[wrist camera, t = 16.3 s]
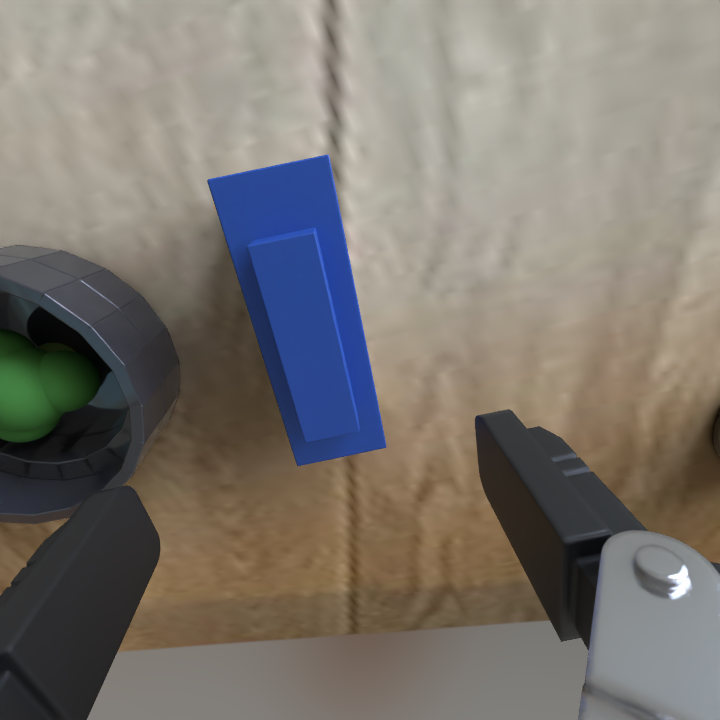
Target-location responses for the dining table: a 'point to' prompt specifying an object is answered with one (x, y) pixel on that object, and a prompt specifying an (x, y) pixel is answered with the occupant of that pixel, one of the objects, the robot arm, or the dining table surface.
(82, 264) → the bowl
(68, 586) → the robot arm
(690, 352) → the dining table surface
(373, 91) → the dining table surface
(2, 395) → the broccoli floret
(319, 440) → the brush
